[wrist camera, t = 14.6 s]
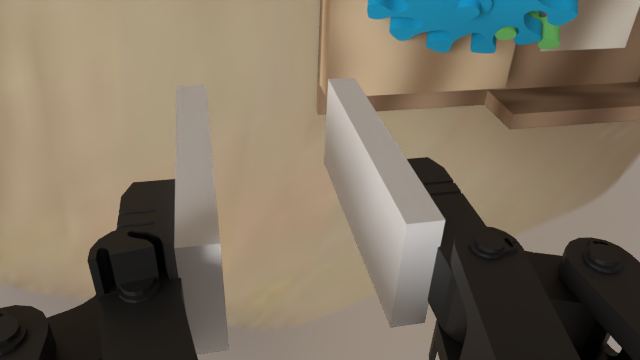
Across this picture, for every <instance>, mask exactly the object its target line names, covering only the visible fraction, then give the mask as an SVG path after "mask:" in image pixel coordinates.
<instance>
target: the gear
mask: <svg viewBox="0 0 640 360" xmlns="http://www.w3.org/2000/svg"><path fill="white" fill-rule="evenodd" d="M545 13H546V14H547V16H546V17H543V16H544V15H545ZM367 14H368V17H369V18H371V19H383V18H388V17H391V19H390V28H389V32H390V33H391V35H392V36H393V37H395V38H396V39H397V40H399V41H405V40H409V39H411V38H412V37H413V36H415V35H417V34H420V33H423V32H427V41H426V47H427V48H429V49H431V50H434V51H437V52H441V53H445V52H448V51H449V50H450V49H451V45H452V44H453V42H454V41H456V40H457V39H459V38H461V37H463V36H465V35H467V34H470V33H472V35H471V47H470V50H471V52H474V53H494V52H495V51H496V41H497V39H500V40H510V39H513V38H514V42H515V43H516V44H517V45H525V44H531V43H535V42H538V47H539V48H541V49H546V50H549V49H554V48H557V47H558V46H559V45H560V25H563V24H565V23H568V22H569V21H571V20H573V19H574V18H575V17H577V16H578V0H368V6H367Z"/></svg>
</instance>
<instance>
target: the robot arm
mask: <svg viewBox="0 0 640 360" xmlns="http://www.w3.org/2000/svg"><path fill="white" fill-rule="evenodd" d="M324 164H325V166H326V169H327V171H328V174H329V176H330V179H331V181H332V183H333V186H334V188H335V191H336V193H337V196H338V198H339V201H340V203H341V206H342V208H343V211H344V213H345V216H346V218H347V221H348V223H349V226H350V228H351V231H352V233H353V236H354V238H355V241H356V243H357V246H358V248H359V251H360V253H361V256H362V258H363V261H364V263H365V266H366V268H367V271H368V273H369V276H370V278H371V281H372V283H373V285H374V288H375V290H376V293H377V295H378V298H379V300H380V303H381V305H382V308H383V310H384V313H385V315H386V318H387V320H388V323H389V325H390V327H397V326H404V325H412V324H418V323H424V322H425V319H426V314H427V309H428V304H430V306H431V308H432V310H433V312H434V314H435V316H436V318H437V321H436V325H435V329H434V334H433V338H432V343H431V348H430V352H429V360H435V358H436V354H437V351H438V355H439V359H440V360H640V262H639V261H638V260H637V259H635V258H634V257H633V256H632V255H631V254H630V253H628V252H627V251H625V250H624V249H622V248H621V247H619V246H617V245H615V244H613V243H610V242H608V241H606V240H601V239H595V238H578V239H575V240H573V241H570V242H569V244H568V245H567V247H566V248H565V251H564V253H563V256H558V255H549V254H542V253H533V252H528V251H524V249H523V248H522V246H521V245H520V244H519V242H518V241H517V240H516V239H515V238H514V237H512V236H511V235H509V234H508V233H506V232H504V231H501V230H499V229H496V228H493V227H487V226H486V225H485V224H484V222H483V221H482V220H481V218H480V217H479V215H478V214H477V213H476V211H475V210H474V209H473V207H472V206H471V204H470V203H469V202H468V200H467V199H466V198H465V196H464V195H463V193H462V194H461V191H460V189H459V188H458V186H457V185H456V184H455V183H453V180H452V178H451V177H450V175H449V174H448V173H447V171H446V170H445V169H444V168H443V167H442V166H440V165H439V164H437V163H436V162H434V161H433V160H431V159H430V158H428V157H426V158H413V159H406V157H405V156H404V154H403V153H402V151H401V150H400V148H399V147H398V145H397V143H396V142H395V140H394V139H393V137H392V136H391V134H390V132H389V131H388V129H387V128H386V126H385V125H384V123H383V121H382V120H381V118H380V117H379V115H378V114H377V112H376V111H375V109H374V107H373V106H372V104H371V103H370V101H369V100H368V98H367V96H366V95H365V93H364V92H363V90H362V89H361V87H360V85H359V84H358V82H357V81H356V79H355V78H340V79H328V92H327V113H326V134H325V155H324ZM88 264H89V268H90V272H91V275H92V279H93V283H94V287H95V291H96V295H95V296H94V297H93V298H91V299H90V300H88V301H87V302H85V303H84V304H82V305H80V306H77V307H75V308H73V309H70V310H68V311H65V312H62V313H59V314H56V315H53V316H51V317H48V318H46V317H45V315H44V313H43V312H42V311H40V310H38V309H36V308H34V307H31V306H19V305H14V306H9V307H4V308H0V360H198V358H197V354H204V353H212V352H219V351H226V350H229V348H228V347H229V345H228V333H227V321H226V309H225V296H224V284H223V272H222V260H221V248H220V236H219V225H218V214H217V203H216V192H215V181H214V170H213V159H212V148H211V137H210V126H209V115H208V104H207V93H206V85H200V86H180V87H176V159H175V179H171V180H158V181H146V182H134V183H132V184H131V186H130V187H129V188H128V189H127V191H126V192H125V193H124V194H123V195H122V197H121V202H120V209H119V216H118V222H117V229H116V231H112V232H110V233H109V234H107V235H105V236H104V237H102V238H100V239H99V240H98V241H97V242H96V243H95V244H94V245H93V247H92V248H91V249H90V252H89V256H88ZM610 335H611V336H612V337H613V338H614V340H615V341H616V342H617V343H618V344H619V345H620V346H621V347H622V350H621V351H620V353H617V352H615V351H614V350H613V349H612V348H611V347H610V346H609V345H608V344H607V341H608V339H609V337H610Z"/></svg>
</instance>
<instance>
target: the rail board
mask: <svg viewBox="0 0 640 360" xmlns="http://www.w3.org/2000/svg"><path fill="white" fill-rule="evenodd" d="M367 6H368V0H321V1H320V28H319V56H318V83H317V113H318V115H324V114H326V113H327V92H328V79H340V78H355V79H356V81H357V82H358V84H359V85H360V87H361V89H362V90H363V92H364V93H365V95H366V96H367V98H368V100H369V101H370V103H371V104H372V106H373V107H374V109H375V111H388V110H404V109H420V108H436V107H452V106H468V105H485V106H486V107H487V108H488V109H489V110H490V111H491V112H493V113H494V114H495V115H496V116H497V117H498V118H499V119H500V120H501V121H502V122H503V123H504V124H505V125H506V126H507V127H508V128H509V129H521V128H535V127H549V126H563V125H577V124H591V123H604V122H618V121H632V120H640V0H578V16H577V17H575V18H574V19H573V20H571V21H569V22H568V23H565V24H563V25H560V45H559V46H558V47H557V48H554V49H549V50H546V49H541V48H539V47H538V42H535V43H531V44H525V45H517V44H516V43H515V42H514V38H513V39H510V40H500V39H497V41H496V51H495V52H494V53H474V52H471V50H470V47H471V35H472V33H470V34H467V35H465V36H463V37H461V38H459V39H457V40H456V41H454V42H453V44H452V45H451V49H450V50H449V51H448V52H445V53H441V52H437V51H434V50H431V49H429V48H427V47H426V41H427V32H423V33H420V34H417V35H415V36H413V37H412V38H411V39H409V40H405V41H399V40H397V39H396V38H395V37H393V36H392V35H391V33H390V32H389V28H390V19H391V17H388V18H383V19H371V18H369V17H368V14H367ZM546 16H547V14H546V13H545V15H544V16H543V17H546Z"/></svg>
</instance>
